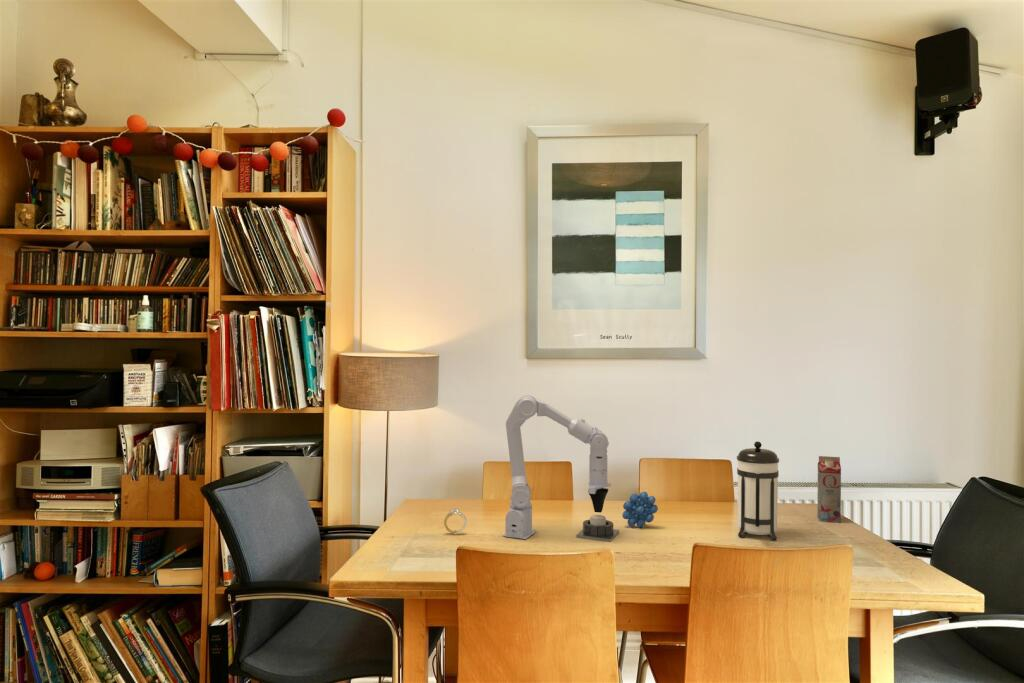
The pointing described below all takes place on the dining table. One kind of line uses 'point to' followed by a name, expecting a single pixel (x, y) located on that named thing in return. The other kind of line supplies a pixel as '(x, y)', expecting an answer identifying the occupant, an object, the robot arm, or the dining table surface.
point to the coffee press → (757, 491)
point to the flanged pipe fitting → (598, 531)
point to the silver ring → (451, 515)
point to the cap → (598, 520)
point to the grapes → (639, 509)
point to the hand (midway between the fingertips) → (598, 511)
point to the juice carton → (829, 489)
